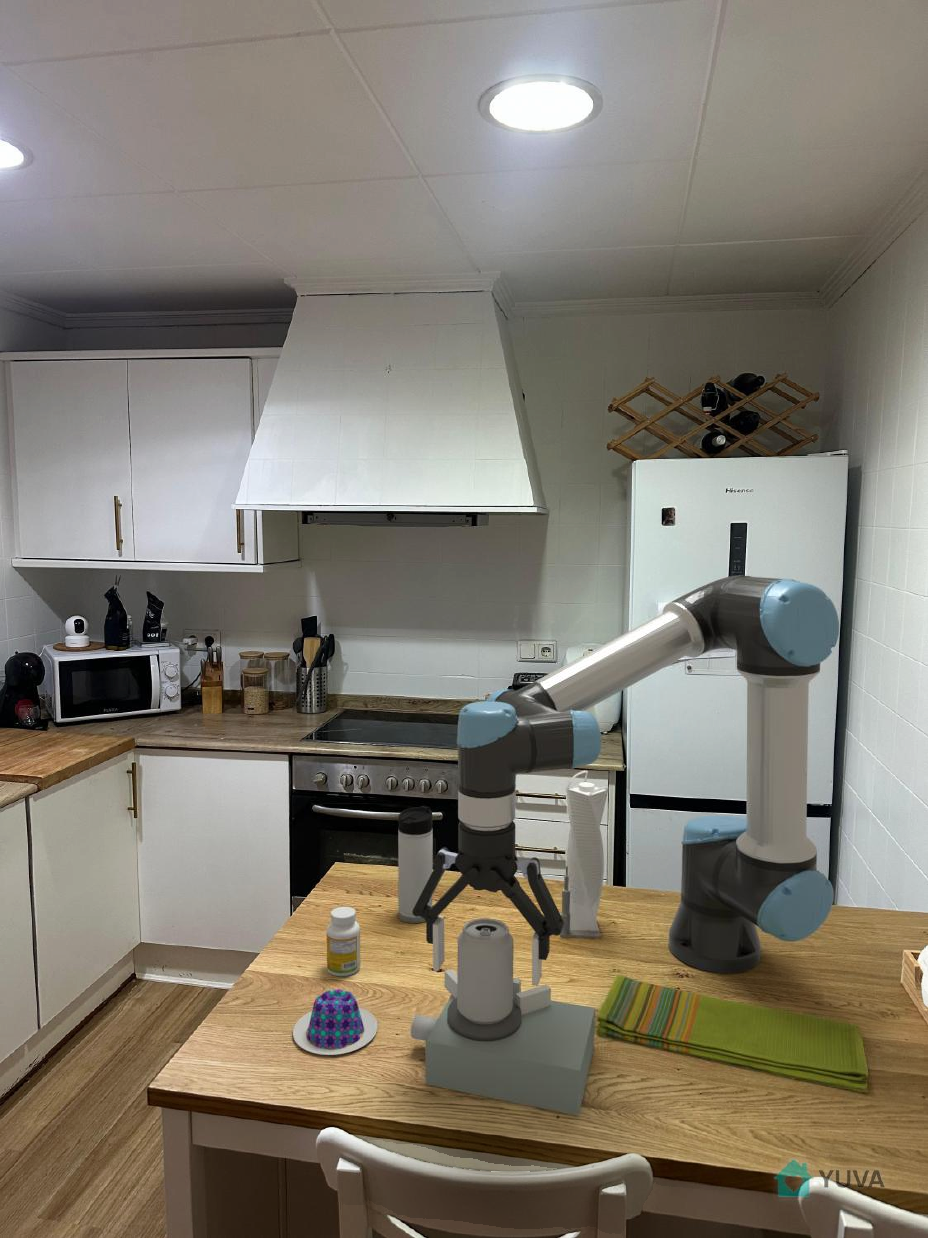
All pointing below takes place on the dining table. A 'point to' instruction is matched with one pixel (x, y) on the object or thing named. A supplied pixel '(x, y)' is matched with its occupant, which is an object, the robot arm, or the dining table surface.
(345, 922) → the supplement bottle
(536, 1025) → the gearbox
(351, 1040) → the pudding
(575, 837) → the skyscraper
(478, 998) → the can
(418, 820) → the travel mug
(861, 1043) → the dish towel
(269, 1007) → the dining table surface
